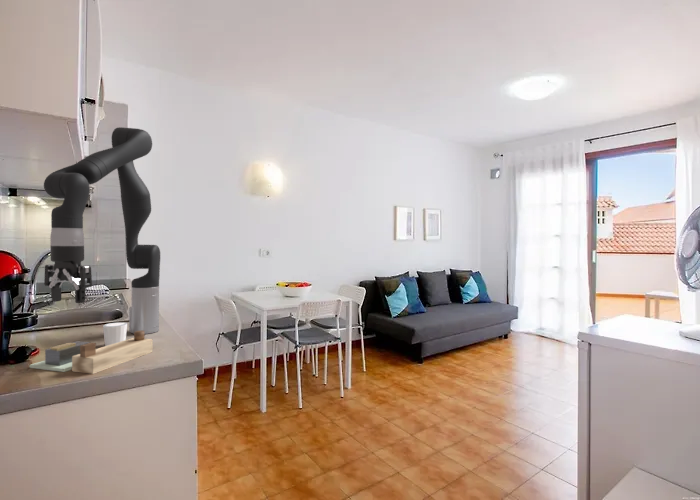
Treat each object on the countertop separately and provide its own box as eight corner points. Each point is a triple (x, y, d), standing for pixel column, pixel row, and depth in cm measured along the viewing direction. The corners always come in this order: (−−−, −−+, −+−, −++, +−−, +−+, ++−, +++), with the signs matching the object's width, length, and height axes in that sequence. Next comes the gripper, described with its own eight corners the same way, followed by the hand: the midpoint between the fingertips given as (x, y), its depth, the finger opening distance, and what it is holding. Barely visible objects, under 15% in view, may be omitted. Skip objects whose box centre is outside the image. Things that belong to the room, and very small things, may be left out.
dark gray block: (45, 364, 100) (45, 347, 100) (77, 354, 109) (77, 339, 109) (59, 365, 99) (59, 348, 99) (90, 356, 107) (90, 340, 107)
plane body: (72, 371, 97) (72, 344, 97) (134, 350, 116) (134, 328, 116) (93, 373, 95) (93, 347, 95) (152, 352, 115) (152, 329, 115)
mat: (29, 367, 99) (29, 364, 99) (72, 354, 111) (72, 352, 111) (64, 372, 96) (64, 368, 96) (104, 358, 108) (104, 355, 108)
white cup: (120, 341, 127) (120, 321, 126) (131, 344, 123) (131, 323, 123) (98, 346, 121) (98, 324, 121) (109, 349, 117) (109, 327, 117)
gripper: (100, 244, 105) (100, 301, 105) (61, 244, 108) (62, 298, 109) (74, 245, 98) (74, 305, 98) (34, 244, 101) (34, 302, 102)
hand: (68, 302), depth 103 cm, fingers open, 8 cm apart
